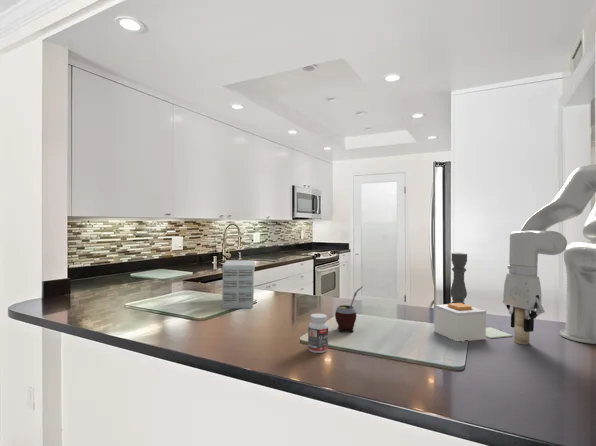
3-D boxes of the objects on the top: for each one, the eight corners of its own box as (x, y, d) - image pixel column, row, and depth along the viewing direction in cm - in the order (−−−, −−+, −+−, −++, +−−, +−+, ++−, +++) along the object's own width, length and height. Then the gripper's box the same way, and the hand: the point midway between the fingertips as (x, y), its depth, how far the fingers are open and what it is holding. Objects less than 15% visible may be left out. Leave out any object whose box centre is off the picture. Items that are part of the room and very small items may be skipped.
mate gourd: (330, 330, 123) (331, 286, 123) (344, 325, 129) (345, 283, 129) (349, 335, 118) (350, 289, 118) (362, 330, 124) (363, 286, 124)
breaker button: (460, 311, 124) (460, 302, 124) (471, 315, 119) (471, 306, 119) (448, 312, 122) (448, 303, 122) (458, 316, 117) (458, 307, 117)
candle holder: (468, 319, 140) (469, 254, 139) (451, 318, 141) (452, 253, 141) (464, 315, 146) (465, 253, 146) (448, 314, 147) (449, 252, 147)
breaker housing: (460, 329, 127) (461, 303, 127) (485, 339, 117) (486, 311, 117) (434, 331, 124) (434, 305, 124) (457, 342, 114) (457, 313, 114)
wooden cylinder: (520, 339, 117) (521, 305, 117) (532, 343, 113) (533, 308, 113) (511, 340, 115) (511, 306, 115) (522, 345, 112) (523, 309, 112)
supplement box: (224, 299, 168) (225, 260, 167) (254, 299, 169) (254, 260, 169) (221, 308, 150) (221, 264, 150) (253, 308, 152) (254, 265, 152)
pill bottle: (321, 355, 101) (322, 319, 101) (304, 350, 104) (304, 316, 104) (331, 349, 106) (331, 314, 106) (314, 345, 109) (314, 311, 109)
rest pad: (490, 328, 129) (490, 327, 129) (512, 336, 120) (512, 335, 120) (469, 330, 126) (469, 329, 126) (490, 338, 117) (490, 337, 117)
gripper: (491, 267, 121) (490, 322, 121) (538, 275, 105) (537, 338, 105) (509, 266, 123) (508, 321, 123) (558, 274, 107) (556, 336, 107)
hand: (521, 328), depth 114 cm, fingers closed on wooden cylinder, 4 cm apart
